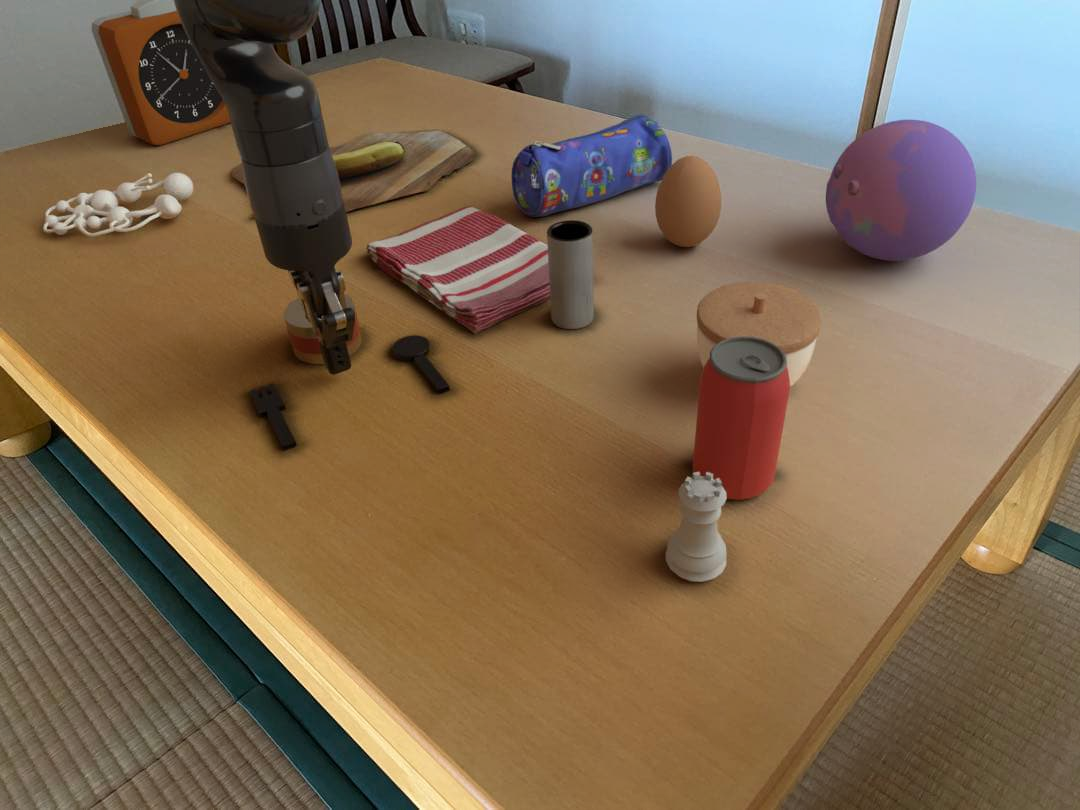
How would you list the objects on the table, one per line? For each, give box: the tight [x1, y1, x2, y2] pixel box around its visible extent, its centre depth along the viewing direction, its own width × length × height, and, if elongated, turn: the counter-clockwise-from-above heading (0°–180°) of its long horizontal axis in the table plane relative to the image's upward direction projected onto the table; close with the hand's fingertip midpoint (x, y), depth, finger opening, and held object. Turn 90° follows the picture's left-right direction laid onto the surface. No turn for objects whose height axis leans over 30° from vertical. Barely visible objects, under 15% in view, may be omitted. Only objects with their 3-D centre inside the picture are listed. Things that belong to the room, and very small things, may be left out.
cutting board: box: [231, 130, 477, 217], centre depth 120 cm, size 35×27×4 cm
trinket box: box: [696, 281, 822, 388], centre depth 74 cm, size 11×11×9 cm
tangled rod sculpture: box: [42, 172, 194, 238], centre depth 111 cm, size 19×14×4 cm
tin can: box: [283, 293, 363, 365], centre depth 84 cm, size 7×7×4 cm
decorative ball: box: [825, 119, 977, 262], centre depth 90 cm, size 15×15×15 cm
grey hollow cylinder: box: [546, 219, 595, 330], centre depth 84 cm, size 4×4×10 cm
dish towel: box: [365, 205, 550, 334], centre depth 96 cm, size 17×23×3 cm
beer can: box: [692, 336, 791, 501], centre depth 64 cm, size 7×7×12 cm
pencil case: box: [511, 114, 673, 218], centre depth 107 cm, size 22×9×10 cm, turn 119°
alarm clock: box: [91, 0, 231, 147], centre depth 134 cm, size 18×9×21 cm, turn 136°
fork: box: [249, 382, 298, 451], centre depth 76 cm, size 10×2×1 cm, turn 29°
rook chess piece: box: [665, 472, 728, 583], centre depth 58 cm, size 4×4×8 cm
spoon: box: [392, 334, 451, 395], centre depth 82 cm, size 10×4×1 cm, turn 29°
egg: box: [654, 155, 722, 248], centre depth 95 cm, size 8×8×11 cm
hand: (338, 368), depth 80 cm, fingers closed
